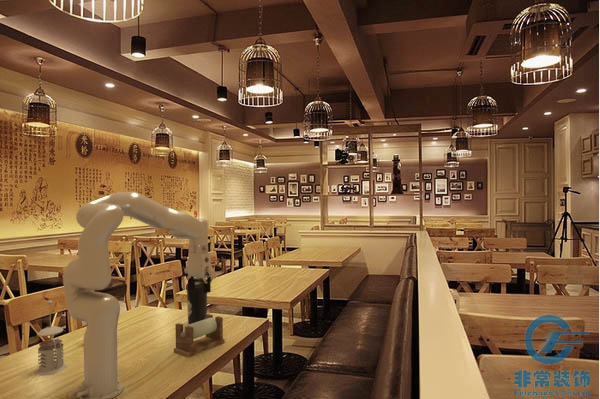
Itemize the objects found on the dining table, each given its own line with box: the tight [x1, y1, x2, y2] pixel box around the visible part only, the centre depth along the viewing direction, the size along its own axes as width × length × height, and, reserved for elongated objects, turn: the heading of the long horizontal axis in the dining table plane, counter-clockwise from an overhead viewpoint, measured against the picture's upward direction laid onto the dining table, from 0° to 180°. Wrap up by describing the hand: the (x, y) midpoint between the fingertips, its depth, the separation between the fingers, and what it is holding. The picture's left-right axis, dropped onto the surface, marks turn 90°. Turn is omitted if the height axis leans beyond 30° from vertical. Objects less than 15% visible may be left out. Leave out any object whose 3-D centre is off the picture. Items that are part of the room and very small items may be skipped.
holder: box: [173, 313, 226, 358], centre depth 169 cm, size 19×9×11 cm, turn 144°
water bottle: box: [185, 277, 208, 325], centre depth 197 cm, size 10×10×23 cm
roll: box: [180, 317, 217, 340], centre depth 168 cm, size 19×6×6 cm
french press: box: [34, 299, 68, 376], centre depth 148 cm, size 10×12×25 cm
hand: (199, 291), depth 168 cm, fingers open, 9 cm apart
